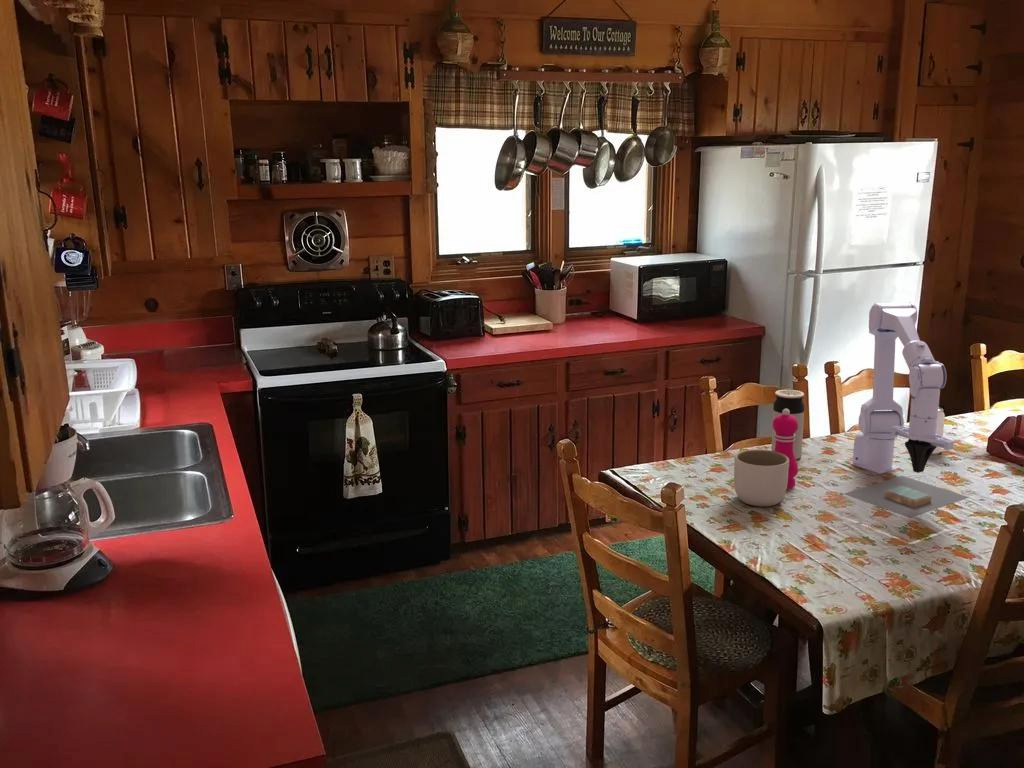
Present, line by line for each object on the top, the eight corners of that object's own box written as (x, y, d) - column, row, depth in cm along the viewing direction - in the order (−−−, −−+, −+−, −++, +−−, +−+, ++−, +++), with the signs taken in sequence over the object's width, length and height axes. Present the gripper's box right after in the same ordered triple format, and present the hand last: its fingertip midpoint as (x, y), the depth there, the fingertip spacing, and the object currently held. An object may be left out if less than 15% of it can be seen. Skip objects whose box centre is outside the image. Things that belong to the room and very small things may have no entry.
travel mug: (776, 449, 248) (780, 387, 244) (805, 454, 244) (809, 391, 239) (766, 457, 242) (769, 394, 237) (795, 462, 237) (799, 398, 233)
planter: (771, 515, 203) (773, 470, 201) (723, 502, 212) (724, 458, 209) (795, 499, 212) (798, 456, 210) (748, 487, 220) (750, 445, 218)
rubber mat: (843, 495, 214) (843, 493, 214) (901, 477, 225) (901, 475, 225) (910, 519, 199) (910, 517, 199) (968, 499, 210) (968, 497, 210)
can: (945, 454, 241) (949, 412, 238) (921, 454, 241) (925, 412, 238) (934, 447, 247) (938, 405, 244) (911, 447, 247) (915, 406, 244)
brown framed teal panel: (885, 490, 211) (915, 500, 204) (901, 485, 214) (931, 495, 207) (884, 497, 211) (914, 507, 204) (900, 491, 214) (930, 502, 207)
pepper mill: (781, 492, 217) (785, 414, 212) (760, 483, 223) (764, 407, 218) (803, 487, 220) (808, 410, 215) (782, 478, 226) (786, 403, 221)
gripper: (884, 410, 206) (880, 465, 210) (942, 425, 194) (936, 484, 198) (904, 406, 210) (899, 460, 213) (961, 420, 198) (955, 477, 201)
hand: (918, 471), depth 206 cm, fingers closed
